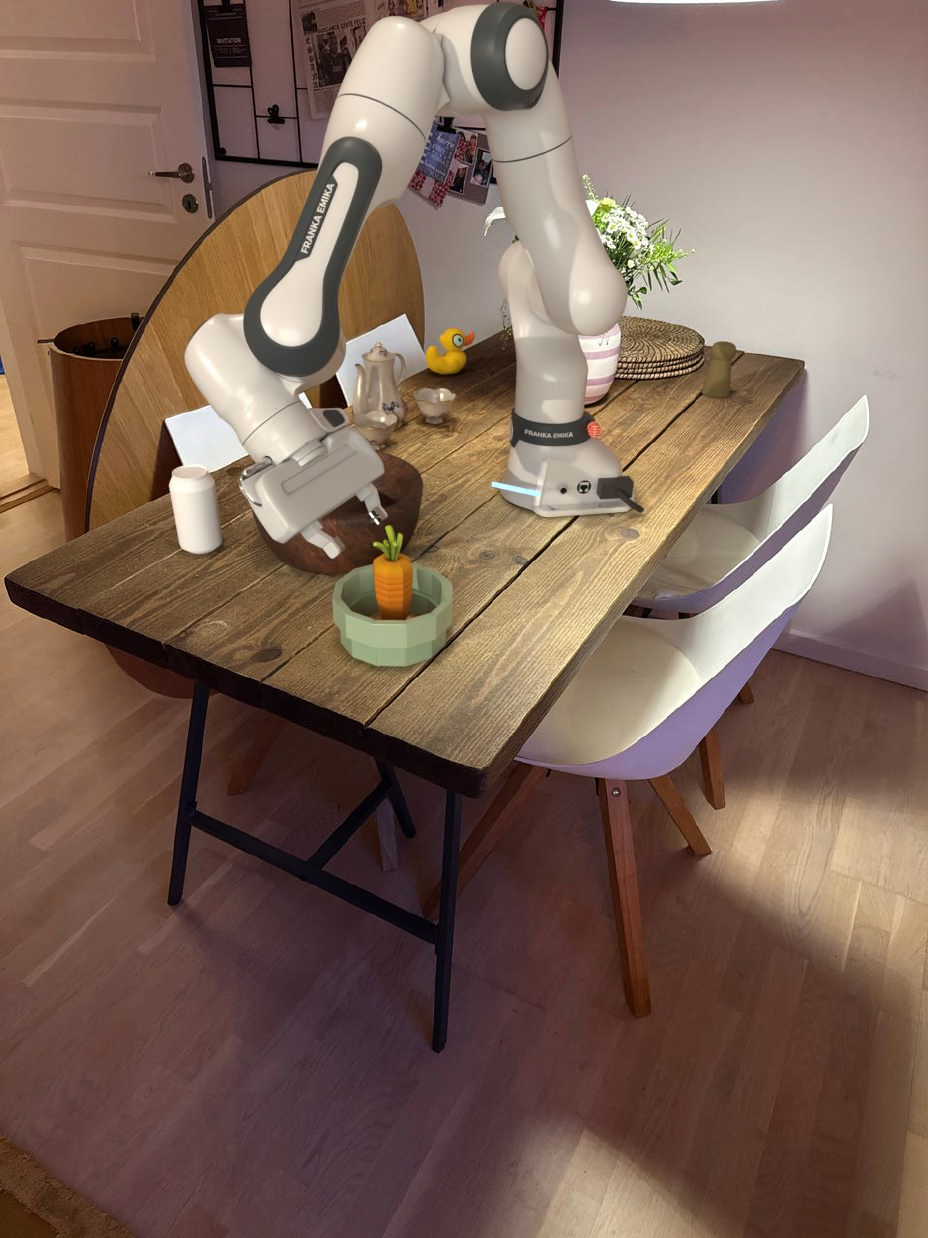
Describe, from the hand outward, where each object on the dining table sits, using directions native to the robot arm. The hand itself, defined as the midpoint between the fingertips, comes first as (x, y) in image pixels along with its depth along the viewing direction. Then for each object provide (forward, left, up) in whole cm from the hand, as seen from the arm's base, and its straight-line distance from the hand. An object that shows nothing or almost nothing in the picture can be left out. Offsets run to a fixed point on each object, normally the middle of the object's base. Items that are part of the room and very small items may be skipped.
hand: (361, 537), depth 105 cm
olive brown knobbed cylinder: (-69, -94, -13) cm, 118 cm away
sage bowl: (-4, +2, -13) cm, 14 cm away
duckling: (-10, -103, -13) cm, 104 cm away
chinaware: (0, -68, -13) cm, 70 cm away
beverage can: (+26, -20, -13) cm, 35 cm away
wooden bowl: (+6, -22, -13) cm, 26 cm away
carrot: (-4, +2, -13) cm, 14 cm away
